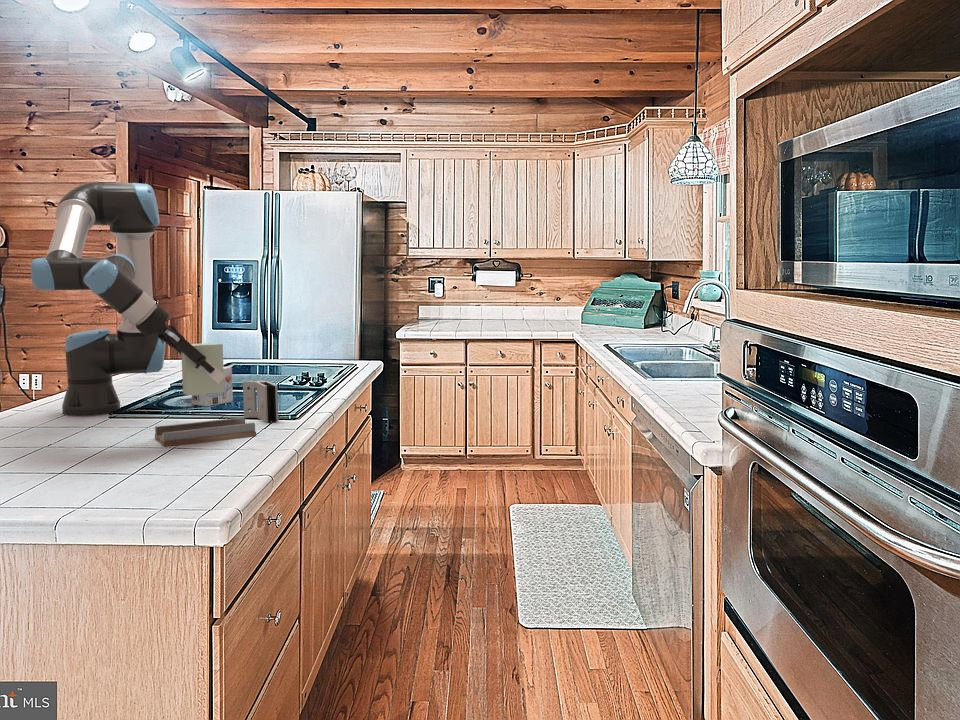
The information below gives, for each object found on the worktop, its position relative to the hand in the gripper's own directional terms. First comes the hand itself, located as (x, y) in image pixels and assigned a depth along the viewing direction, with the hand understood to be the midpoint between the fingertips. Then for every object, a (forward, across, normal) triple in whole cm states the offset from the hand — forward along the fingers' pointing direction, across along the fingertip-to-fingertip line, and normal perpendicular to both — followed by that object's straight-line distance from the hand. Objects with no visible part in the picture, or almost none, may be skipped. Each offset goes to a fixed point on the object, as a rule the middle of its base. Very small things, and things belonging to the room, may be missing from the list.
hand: (218, 378), depth 209 cm
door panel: (0, 0, -5) cm, 5 cm away
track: (+8, 0, -13) cm, 15 cm away
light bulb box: (+18, -46, -3) cm, 50 cm away
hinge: (+21, -15, 0) cm, 26 cm away
